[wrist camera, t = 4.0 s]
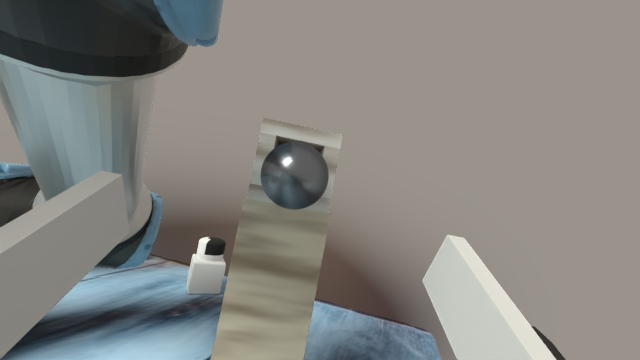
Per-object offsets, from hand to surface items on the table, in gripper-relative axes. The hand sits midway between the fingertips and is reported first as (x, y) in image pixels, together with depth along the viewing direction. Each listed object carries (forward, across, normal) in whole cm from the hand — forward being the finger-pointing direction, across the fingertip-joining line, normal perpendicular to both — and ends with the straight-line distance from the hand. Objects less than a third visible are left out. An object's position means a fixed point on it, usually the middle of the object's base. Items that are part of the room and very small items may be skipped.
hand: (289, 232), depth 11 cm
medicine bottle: (+36, -16, -50) cm, 64 cm away
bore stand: (+5, 0, -32) cm, 32 cm away
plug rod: (+13, 0, -6) cm, 15 cm away
